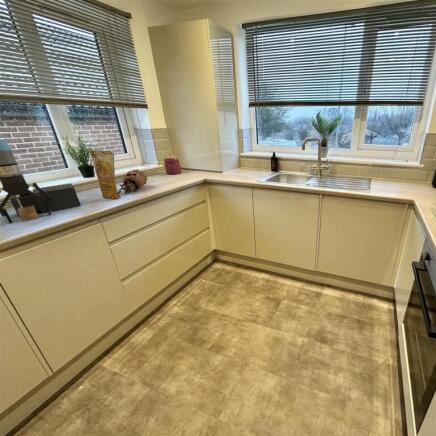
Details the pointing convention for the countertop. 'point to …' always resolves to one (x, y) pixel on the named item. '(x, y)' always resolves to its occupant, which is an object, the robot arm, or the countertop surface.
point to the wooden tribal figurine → (133, 181)
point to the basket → (23, 202)
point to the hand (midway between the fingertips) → (31, 218)
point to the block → (28, 213)
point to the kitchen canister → (172, 164)
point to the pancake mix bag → (105, 172)
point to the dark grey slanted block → (58, 197)
